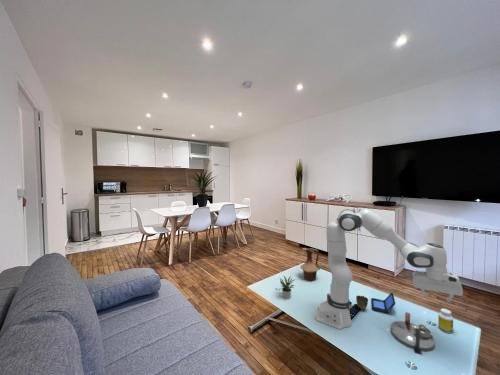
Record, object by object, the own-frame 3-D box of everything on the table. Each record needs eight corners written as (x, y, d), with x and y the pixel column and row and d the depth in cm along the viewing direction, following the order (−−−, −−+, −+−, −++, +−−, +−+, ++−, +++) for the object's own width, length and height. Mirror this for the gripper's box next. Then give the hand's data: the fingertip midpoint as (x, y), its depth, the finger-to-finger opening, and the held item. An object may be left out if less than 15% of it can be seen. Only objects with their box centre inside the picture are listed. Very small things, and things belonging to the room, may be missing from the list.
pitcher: (321, 276, 196) (320, 246, 195) (319, 284, 181) (319, 252, 179) (302, 273, 203) (301, 244, 202) (298, 281, 188) (298, 250, 187)
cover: (416, 337, 116) (416, 328, 116) (413, 329, 122) (412, 320, 122) (432, 341, 113) (432, 331, 113) (428, 332, 119) (427, 323, 119)
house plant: (296, 292, 169) (296, 272, 168) (298, 302, 155) (298, 281, 155) (278, 291, 170) (278, 272, 170) (279, 301, 157) (279, 280, 156)
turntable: (394, 342, 115) (394, 328, 115) (388, 320, 133) (388, 308, 132) (440, 354, 107) (441, 339, 106) (427, 328, 125) (427, 316, 124)
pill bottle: (449, 335, 121) (449, 315, 120) (435, 327, 127) (436, 309, 126) (455, 331, 123) (455, 312, 123) (441, 324, 129) (442, 306, 129)
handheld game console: (371, 299, 158) (371, 287, 158) (392, 304, 152) (392, 291, 151) (372, 311, 144) (372, 298, 144) (395, 316, 138) (395, 303, 137)
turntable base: (394, 344, 115) (394, 343, 115) (387, 321, 133) (387, 320, 133) (441, 356, 107) (441, 355, 107) (427, 330, 125) (427, 329, 125)
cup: (357, 304, 151) (357, 293, 151) (368, 308, 147) (369, 297, 146) (354, 309, 146) (354, 298, 145) (366, 313, 141) (366, 302, 141)
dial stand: (414, 352, 109) (414, 330, 109) (410, 342, 116) (410, 321, 116) (422, 355, 108) (422, 332, 107) (417, 344, 115) (418, 323, 114)
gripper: (412, 272, 117) (413, 296, 117) (463, 280, 105) (464, 307, 106) (411, 267, 122) (412, 291, 123) (460, 275, 111) (460, 300, 111)
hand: (436, 298), depth 114 cm, fingers open, 8 cm apart
